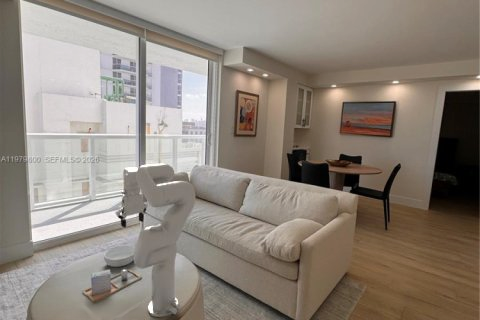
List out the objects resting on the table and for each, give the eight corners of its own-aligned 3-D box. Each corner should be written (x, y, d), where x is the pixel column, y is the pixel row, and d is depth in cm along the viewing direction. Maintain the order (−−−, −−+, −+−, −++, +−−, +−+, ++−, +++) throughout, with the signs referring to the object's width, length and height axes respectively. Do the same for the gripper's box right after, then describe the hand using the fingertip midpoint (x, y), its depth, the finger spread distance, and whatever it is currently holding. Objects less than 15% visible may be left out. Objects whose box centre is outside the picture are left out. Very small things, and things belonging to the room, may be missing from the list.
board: (142, 281, 128) (142, 277, 128) (95, 306, 109) (95, 302, 109) (128, 272, 135) (128, 268, 135) (81, 294, 116) (81, 290, 116)
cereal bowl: (128, 272, 135) (127, 260, 134) (97, 271, 135) (97, 258, 135) (141, 256, 152) (141, 245, 151) (114, 255, 152) (113, 244, 151)
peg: (128, 279, 127) (128, 270, 126) (123, 282, 125) (123, 272, 124) (125, 277, 128) (125, 268, 128) (120, 279, 126) (120, 270, 126)
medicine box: (110, 285, 122) (110, 268, 120) (111, 290, 118) (110, 273, 117) (91, 290, 118) (91, 273, 117) (91, 295, 114) (91, 278, 113)
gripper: (119, 196, 118) (120, 231, 120) (151, 189, 132) (151, 220, 134) (111, 193, 122) (112, 227, 125) (142, 187, 136) (143, 217, 139)
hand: (132, 223), depth 129 cm, fingers open, 9 cm apart
